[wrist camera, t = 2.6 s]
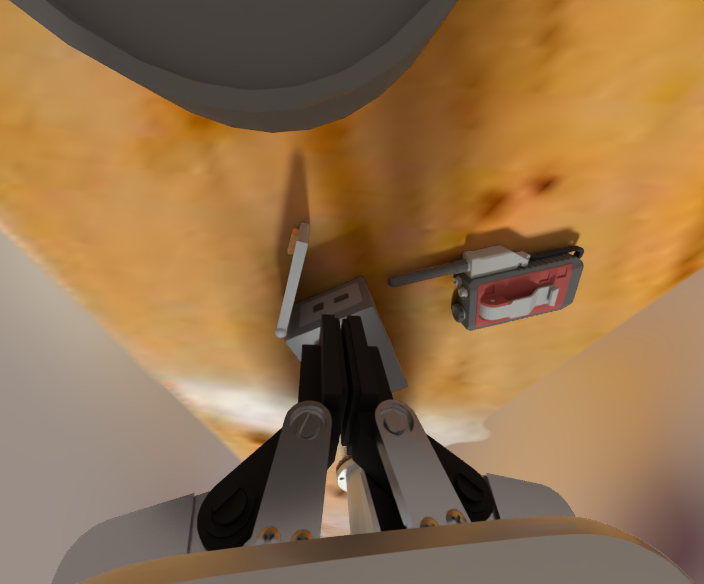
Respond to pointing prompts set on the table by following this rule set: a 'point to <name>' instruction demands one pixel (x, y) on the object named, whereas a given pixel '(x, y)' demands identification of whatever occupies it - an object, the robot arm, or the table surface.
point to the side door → (293, 275)
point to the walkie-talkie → (507, 283)
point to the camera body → (341, 304)
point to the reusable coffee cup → (251, 51)
